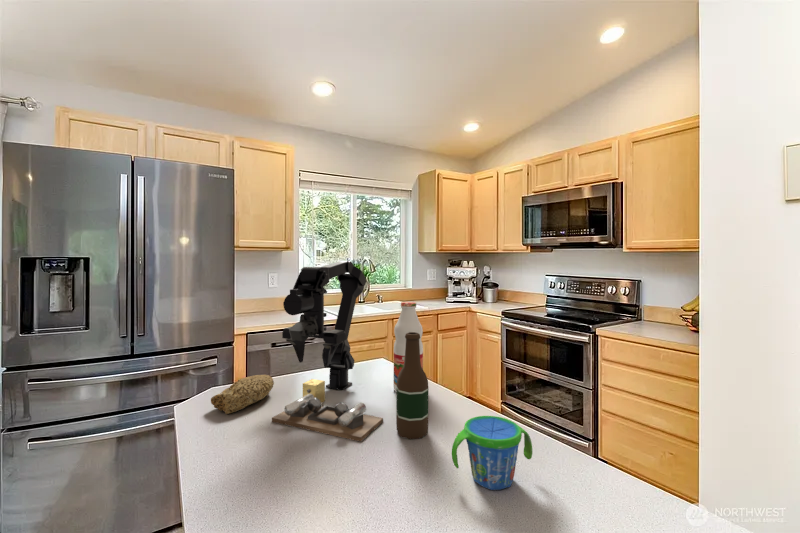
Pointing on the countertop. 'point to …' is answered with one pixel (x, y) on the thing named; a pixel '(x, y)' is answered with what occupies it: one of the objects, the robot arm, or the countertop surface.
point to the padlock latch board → (330, 422)
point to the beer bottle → (412, 393)
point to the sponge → (243, 393)
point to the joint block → (315, 389)
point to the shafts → (315, 406)
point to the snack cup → (492, 449)
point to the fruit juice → (404, 325)
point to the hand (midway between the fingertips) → (313, 364)
